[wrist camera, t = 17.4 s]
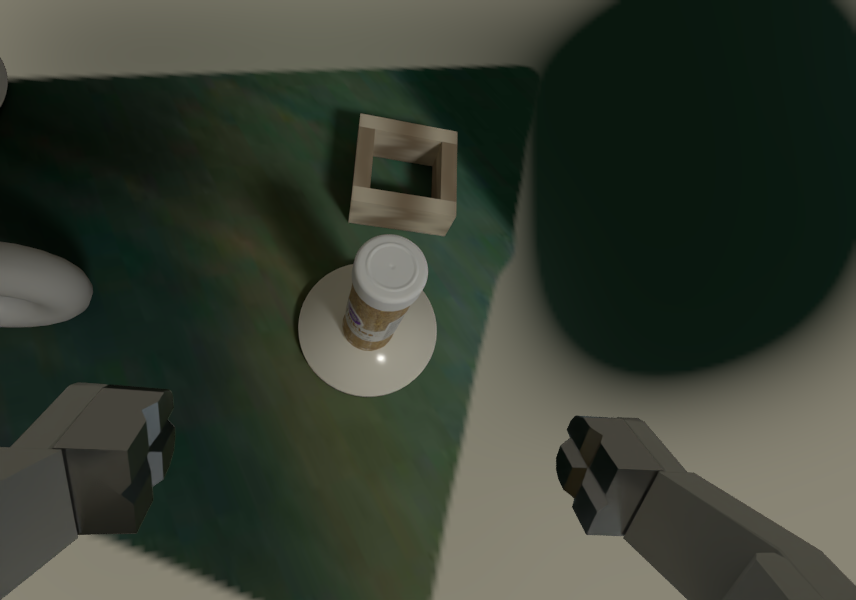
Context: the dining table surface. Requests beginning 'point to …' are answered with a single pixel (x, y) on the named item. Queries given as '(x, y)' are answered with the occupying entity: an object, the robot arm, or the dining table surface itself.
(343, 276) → the white domed disc
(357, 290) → the sprinkles bottle
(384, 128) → the holder collar
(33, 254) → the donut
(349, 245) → the dining table surface
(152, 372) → the dining table surface
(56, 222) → the dining table surface
